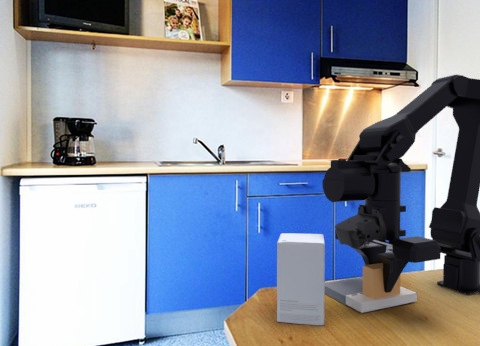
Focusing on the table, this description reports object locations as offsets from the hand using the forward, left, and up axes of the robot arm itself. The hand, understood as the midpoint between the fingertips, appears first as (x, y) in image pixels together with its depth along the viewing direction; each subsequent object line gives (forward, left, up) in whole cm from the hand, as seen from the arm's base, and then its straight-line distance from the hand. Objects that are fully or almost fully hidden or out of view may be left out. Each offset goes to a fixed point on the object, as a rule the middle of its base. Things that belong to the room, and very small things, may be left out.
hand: (381, 289), depth 65 cm
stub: (0, 0, -2) cm, 2 cm away
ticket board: (0, -6, -2) cm, 6 cm away
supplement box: (+15, -2, -3) cm, 15 cm away
